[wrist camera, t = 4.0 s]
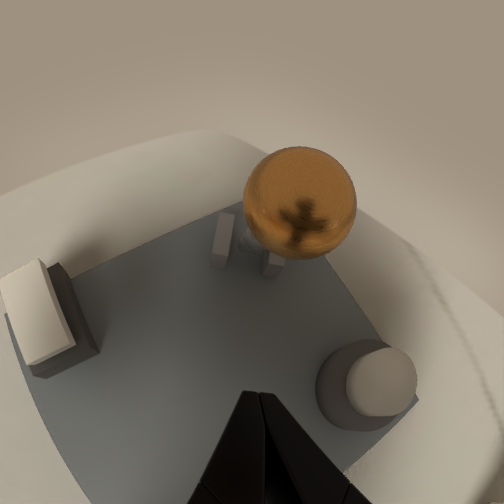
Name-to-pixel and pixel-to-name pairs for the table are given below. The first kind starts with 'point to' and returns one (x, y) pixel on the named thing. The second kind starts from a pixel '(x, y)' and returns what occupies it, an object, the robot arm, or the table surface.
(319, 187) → the toggle lever
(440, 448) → the table surface
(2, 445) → the table surface
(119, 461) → the switch panel
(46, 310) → the rocker switch
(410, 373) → the push button
